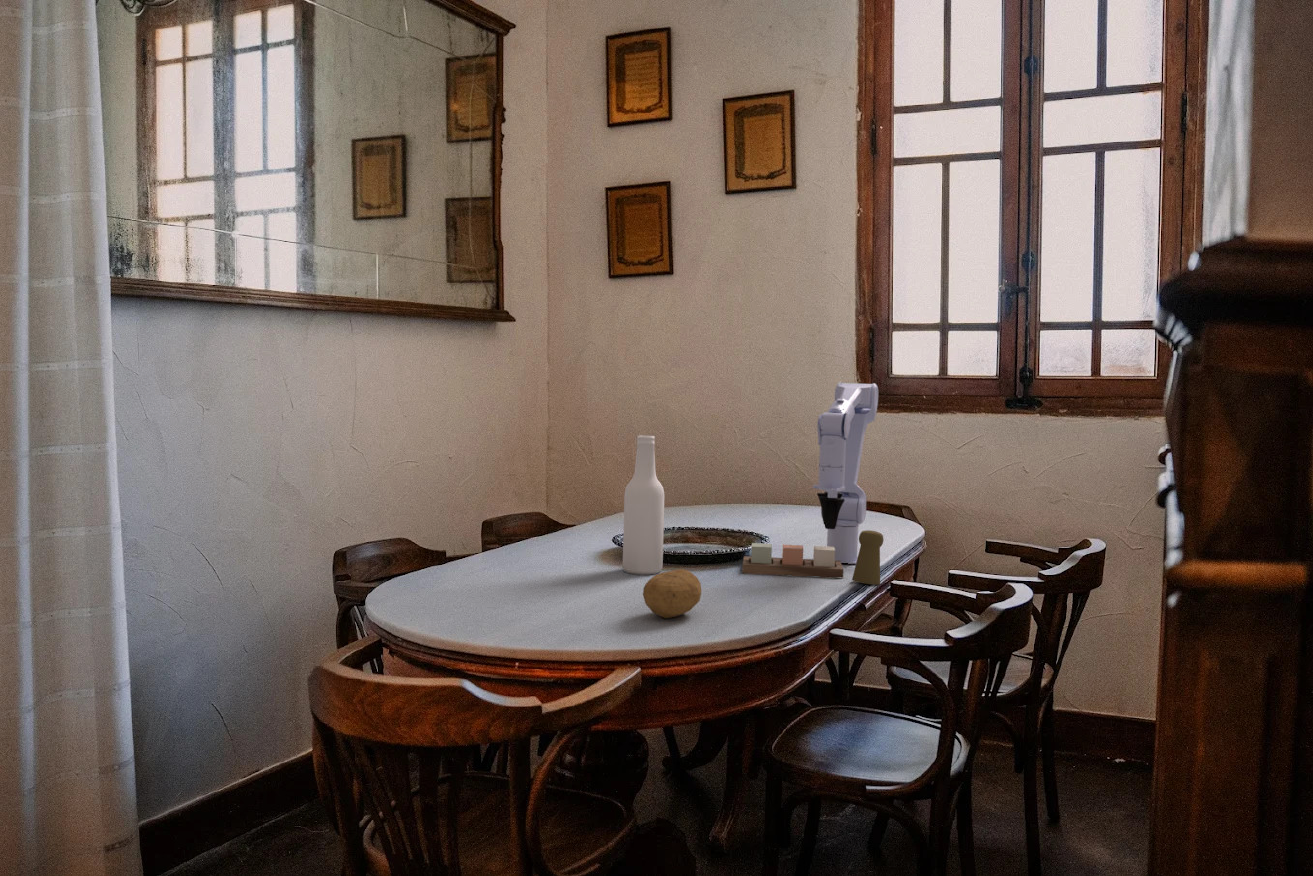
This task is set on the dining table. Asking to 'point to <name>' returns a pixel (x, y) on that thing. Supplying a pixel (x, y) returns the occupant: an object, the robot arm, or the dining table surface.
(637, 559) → the alcohol
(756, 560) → the sage button
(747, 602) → the dining table surface
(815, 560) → the cream button
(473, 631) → the dining table surface
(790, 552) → the terracotta button
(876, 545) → the cork
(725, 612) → the dining table surface
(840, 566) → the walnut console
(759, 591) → the dining table surface
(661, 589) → the potato
